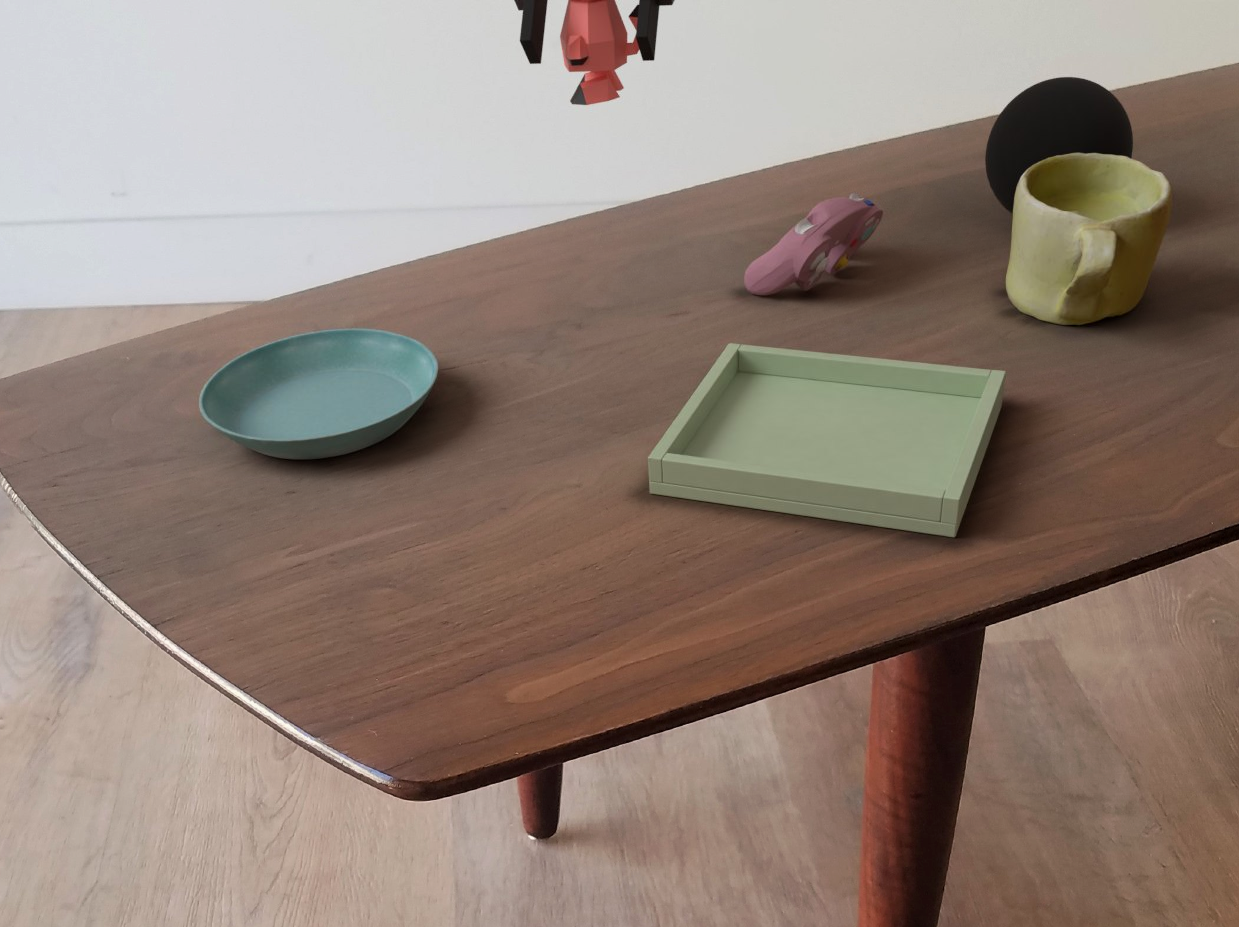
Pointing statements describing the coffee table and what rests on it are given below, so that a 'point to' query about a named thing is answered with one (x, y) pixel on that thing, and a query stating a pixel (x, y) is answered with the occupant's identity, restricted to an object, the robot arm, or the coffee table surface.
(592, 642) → the coffee table surface
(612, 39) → the cat figurine
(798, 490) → the sage green tray
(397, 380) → the saucer
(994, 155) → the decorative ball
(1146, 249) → the mug
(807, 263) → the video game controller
